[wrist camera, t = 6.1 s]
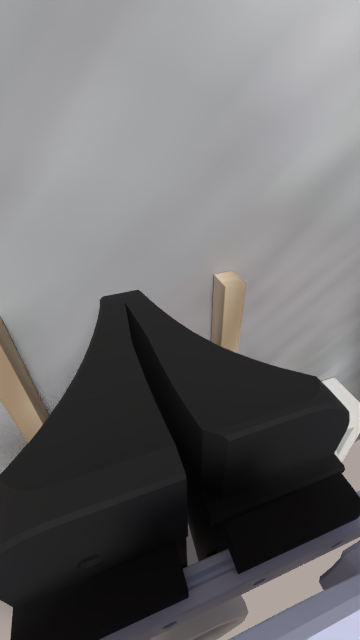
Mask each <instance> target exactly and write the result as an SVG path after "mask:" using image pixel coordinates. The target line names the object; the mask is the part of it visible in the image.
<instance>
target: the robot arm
mask: <svg viewBox="0 0 360 640" xmlns="http://www.w3.org/2000/svg"><path fill="white" fill-rule="evenodd" d="M349 421H350V415H349V411H348V409H347V408H346V407H345V406H344V405H343V404H342V402H341V401H340V400H339V399H338V398H337V397H336V396H335V395H334V394H333V393H332V392H331V391H330V389H329V388H327V387H326V386H325V385H324V384H323V383H322V382H321V381H320V380H319V379H318V378H317V377H316V376H312V375H308V374H304V373H300V372H295V371H291V370H287V369H283V368H279V367H276V366H272V365H269V364H266V363H263V362H260V361H257V360H254V359H251V358H248V357H246V356H243V355H240V354H238V353H235V352H233V351H231V350H228V349H226V348H223V347H221V346H219V345H217V344H215V343H213V342H211V341H209V340H207V339H205V338H203V337H201V336H199V335H197V334H196V333H194V332H192V331H191V330H189V329H188V328H186V327H185V326H183V325H182V324H180V323H179V322H177V321H176V320H174V319H173V318H172V317H170V316H169V315H168V314H166V313H165V312H164V311H163V310H161V309H160V308H159V307H158V306H156V305H155V304H154V303H153V302H152V301H151V300H149V299H148V298H147V297H146V296H145V295H144V294H143V293H142V292H141V291H139V290H135V291H130V292H124V293H119V294H114V295H109V296H104V297H102V298H101V299H100V310H99V315H98V320H97V324H96V327H95V330H94V334H93V337H92V339H91V342H90V345H89V347H88V350H87V352H86V355H85V357H84V359H83V361H82V363H81V365H80V367H79V369H78V371H77V373H76V375H75V377H74V379H73V380H72V382H71V384H70V385H69V387H68V389H67V390H66V392H65V394H64V395H63V397H62V398H61V400H60V401H59V403H58V404H57V406H56V407H55V409H54V410H53V411H52V413H51V414H50V415H49V417H48V418H47V419H46V421H45V422H44V423H43V425H42V426H41V428H40V429H39V430H38V432H37V433H36V434H35V435H34V437H33V438H32V439H31V440H30V441H29V443H28V444H27V445H26V446H25V447H24V448H23V449H22V451H21V452H20V453H19V454H18V455H17V456H16V458H15V459H14V460H13V461H12V462H11V463H10V464H9V466H8V467H7V468H6V469H5V470H4V471H3V472H2V473H1V474H0V600H1V601H3V602H5V603H7V604H9V605H10V606H12V607H13V616H12V628H11V640H149V639H151V638H153V637H155V636H157V635H159V634H161V633H163V632H166V631H168V630H170V629H172V628H174V627H176V626H178V625H180V624H182V623H184V622H186V621H188V620H190V619H192V618H194V617H196V616H198V615H200V614H203V613H205V612H207V611H209V610H211V609H213V608H215V607H217V606H219V605H221V604H223V603H225V602H227V601H229V600H231V599H233V598H235V597H237V596H239V595H242V594H244V593H246V592H248V591H250V590H252V589H254V588H256V587H258V586H260V585H262V584H264V583H266V582H268V581H270V580H272V579H274V578H276V577H278V576H281V575H282V574H284V573H287V572H289V571H291V570H293V569H295V568H297V567H299V566H301V565H303V564H305V563H307V562H309V561H311V560H313V559H315V558H317V557H319V556H321V555H324V554H326V553H328V552H330V551H332V550H334V549H336V548H338V547H340V546H342V545H344V544H346V543H348V542H350V541H352V540H354V539H356V538H358V537H360V491H358V492H355V490H354V489H353V488H352V486H351V485H350V484H349V482H347V480H346V479H345V477H344V476H343V475H342V473H343V472H344V470H345V468H344V465H343V464H342V462H341V461H340V460H339V459H338V457H337V456H336V455H335V454H334V453H335V451H336V449H337V447H338V446H339V444H340V442H341V440H342V438H343V436H344V435H345V433H346V431H347V428H348V425H349ZM188 525H189V528H190V532H191V536H192V539H193V543H194V547H195V550H196V554H197V558H198V562H197V563H194V564H192V565H190V566H188V565H187V542H186V537H188ZM319 582H320V584H321V586H322V587H323V590H324V591H322V592H320V593H318V594H316V595H314V596H312V597H310V598H308V599H306V600H304V601H302V602H300V603H298V604H296V605H294V606H292V607H290V608H288V609H286V610H284V611H282V612H280V613H278V614H276V615H274V616H272V617H271V618H269V619H267V620H265V621H263V622H261V623H259V624H257V625H255V626H253V627H251V628H249V629H248V630H246V631H244V632H242V633H240V634H238V635H236V636H234V637H232V638H231V639H229V640H360V541H358V542H357V543H355V544H353V545H352V546H350V547H349V548H347V549H345V550H344V551H343V553H342V555H341V558H340V559H339V560H338V561H337V562H336V563H335V564H334V565H333V566H332V567H331V568H330V569H329V570H328V571H326V572H325V573H324V574H323V575H322V576H320V580H319Z"/></svg>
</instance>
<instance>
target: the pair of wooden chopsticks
mask: <svg viewBox="0 0 360 640" xmlns="http://www.w3.org/2000/svg"><path fill="white" fill-rule="evenodd" d="M245 290H246V282H245V281H244V280H243V279H242V278H241V277H240V276H239V275H238V274H237V273H236V272H235V271H229V272H224V273H219V274H214V287H213V309H212V331H211V342H213V343H215V344H217V345H219V346H221V347H223V348H226V349H228V350H231V351H233V352H235V353H238V347H239V339H240V331H241V323H242V314H243V306H244V298H245ZM0 400H1V402H2V404H3V405H4V407H5V408H6V410H7V412H8V413H9V415H10V416H11V418H12V419H13V421H14V423H15V424H16V426H17V427H18V429H19V431H20V432H21V434H22V435H23V437H24V439H25V440H26V442H27V443H29V441H30V440H31V439H32V438H33V437H34V435H35V434H36V433H37V432H38V430H39V429H40V428H41V426H42V425H43V423H44V422H45V421H46V419H47V418H48V417H49V415H48V413H47V411H46V408H45V406H44V404H43V402H42V400H41V398H40V396H39V394H38V392H37V390H36V388H35V386H34V384H33V382H32V380H31V378H30V376H29V374H28V372H27V370H26V368H25V366H24V364H23V362H22V360H21V358H20V356H19V354H18V352H17V350H16V348H15V346H14V344H13V342H12V340H11V338H10V336H9V334H8V332H7V330H6V328H5V326H4V323H3V321H2V319H1V317H0Z"/></svg>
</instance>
